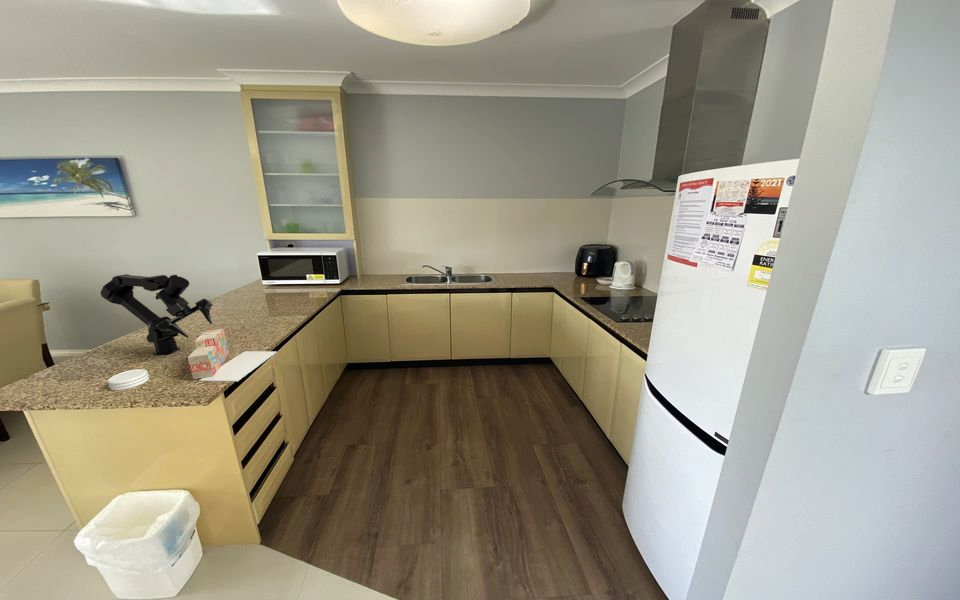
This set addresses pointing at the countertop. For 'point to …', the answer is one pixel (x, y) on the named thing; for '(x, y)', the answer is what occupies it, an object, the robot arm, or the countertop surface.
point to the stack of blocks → (208, 353)
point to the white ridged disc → (128, 379)
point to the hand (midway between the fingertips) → (199, 330)
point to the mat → (239, 366)
